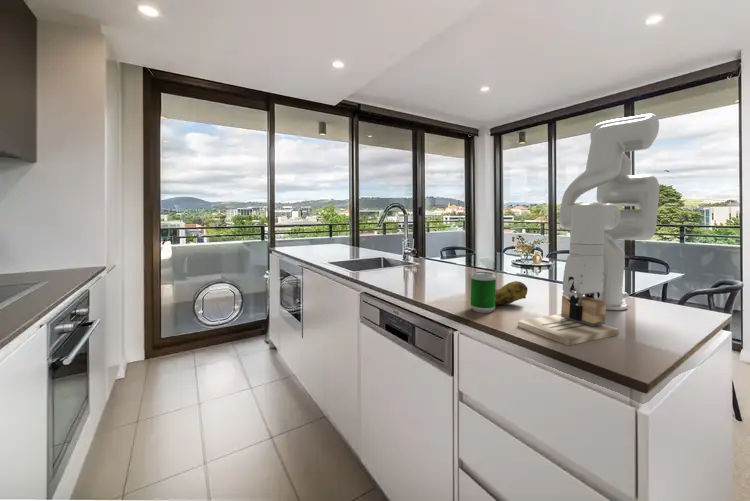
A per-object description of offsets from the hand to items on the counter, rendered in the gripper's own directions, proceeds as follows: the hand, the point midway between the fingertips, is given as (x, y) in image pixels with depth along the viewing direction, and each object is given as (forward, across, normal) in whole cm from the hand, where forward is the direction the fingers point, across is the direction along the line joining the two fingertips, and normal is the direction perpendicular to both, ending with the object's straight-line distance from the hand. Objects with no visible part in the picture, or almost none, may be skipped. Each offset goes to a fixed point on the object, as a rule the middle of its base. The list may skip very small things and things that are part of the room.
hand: (582, 317), depth 90 cm
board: (+3, +6, 0) cm, 6 cm away
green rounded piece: (+3, +1, -26) cm, 26 cm away
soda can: (+3, +13, -24) cm, 27 cm away
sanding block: (+1, 0, 0) cm, 1 cm away
